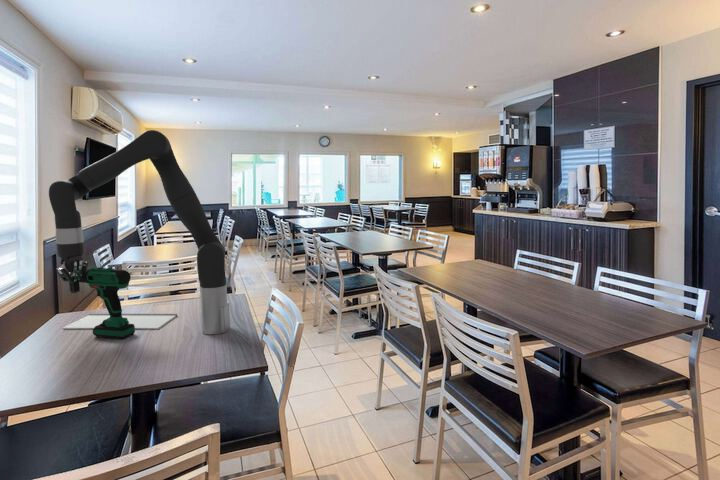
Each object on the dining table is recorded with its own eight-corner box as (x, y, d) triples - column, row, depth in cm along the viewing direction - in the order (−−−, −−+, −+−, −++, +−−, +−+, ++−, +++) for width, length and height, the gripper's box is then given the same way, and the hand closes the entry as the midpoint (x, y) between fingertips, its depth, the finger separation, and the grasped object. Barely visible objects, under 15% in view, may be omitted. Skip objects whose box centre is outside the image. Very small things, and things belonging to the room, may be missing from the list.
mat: (177, 315, 170) (176, 313, 170) (157, 329, 155) (157, 326, 154) (90, 315, 171) (90, 313, 171) (62, 329, 155) (62, 326, 155)
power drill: (124, 339, 144) (119, 269, 141) (56, 334, 150) (49, 266, 147) (136, 334, 150) (131, 266, 146) (69, 328, 155) (63, 263, 152)
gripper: (67, 244, 130) (72, 297, 132) (94, 238, 143) (98, 287, 145) (43, 244, 130) (49, 297, 132) (72, 238, 143) (77, 287, 145)
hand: (75, 292), depth 139 cm, fingers closed
